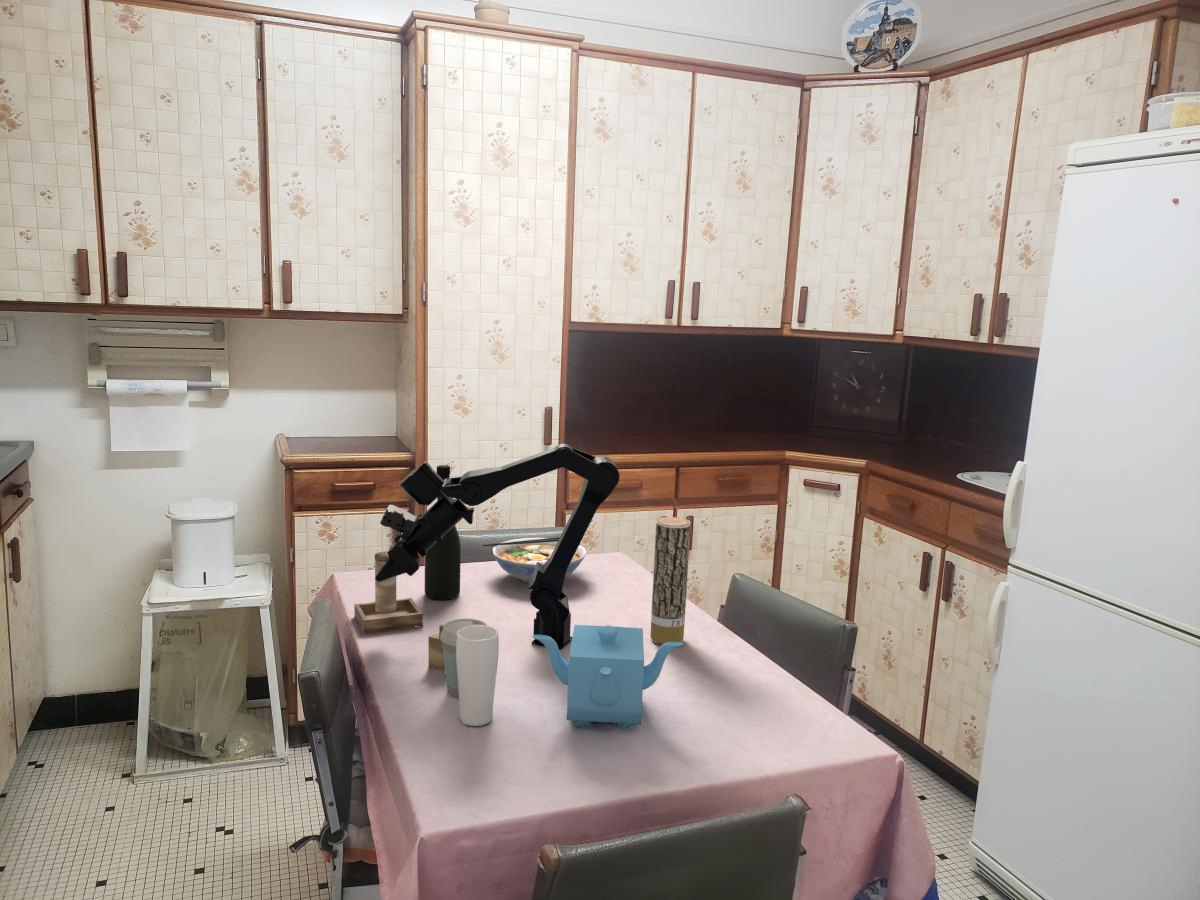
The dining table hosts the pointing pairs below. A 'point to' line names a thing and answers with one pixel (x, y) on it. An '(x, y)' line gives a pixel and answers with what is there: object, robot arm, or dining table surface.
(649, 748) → the dining table surface
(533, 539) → the ramen bowl
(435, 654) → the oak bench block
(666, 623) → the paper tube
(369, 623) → the walnut tray
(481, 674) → the drinking glass
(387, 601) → the beech dowel
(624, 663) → the teakettle
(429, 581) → the wine bottle
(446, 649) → the coffee cup
